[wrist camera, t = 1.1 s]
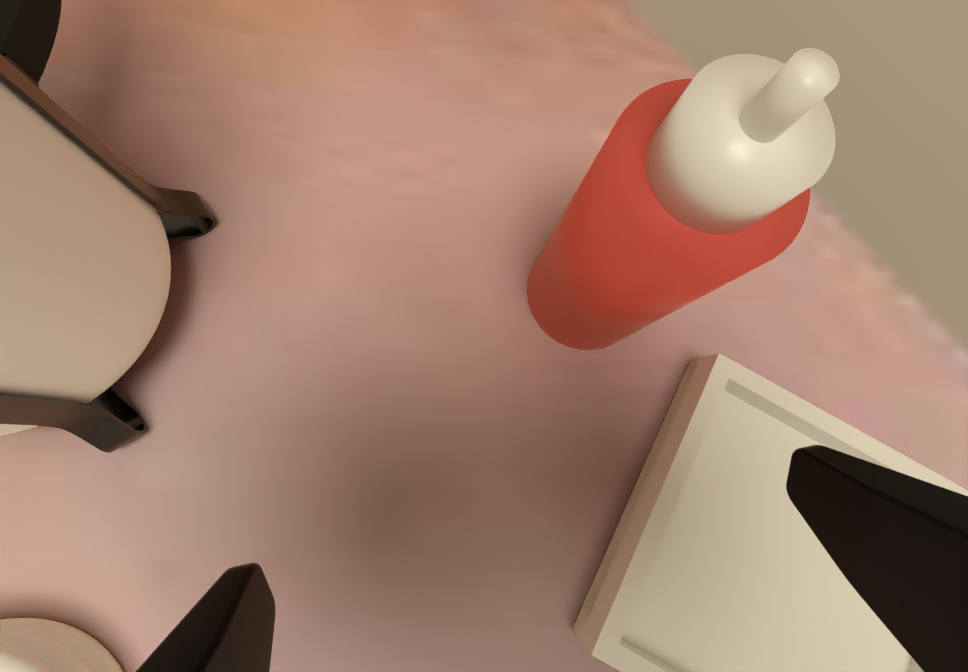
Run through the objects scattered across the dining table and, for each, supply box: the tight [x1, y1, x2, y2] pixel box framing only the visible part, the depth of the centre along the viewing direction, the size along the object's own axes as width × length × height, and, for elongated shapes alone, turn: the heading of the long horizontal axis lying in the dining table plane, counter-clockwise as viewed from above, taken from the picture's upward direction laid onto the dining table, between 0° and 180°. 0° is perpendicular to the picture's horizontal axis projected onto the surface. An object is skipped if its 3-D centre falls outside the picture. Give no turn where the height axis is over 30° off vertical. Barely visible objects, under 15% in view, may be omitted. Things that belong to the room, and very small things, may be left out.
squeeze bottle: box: [527, 48, 840, 350], centre depth 16 cm, size 6×6×15 cm
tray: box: [572, 353, 968, 672], centre depth 21 cm, size 14×13×2 cm
